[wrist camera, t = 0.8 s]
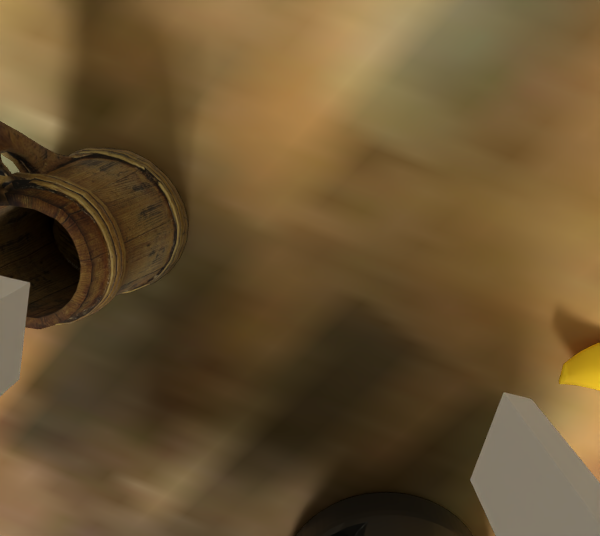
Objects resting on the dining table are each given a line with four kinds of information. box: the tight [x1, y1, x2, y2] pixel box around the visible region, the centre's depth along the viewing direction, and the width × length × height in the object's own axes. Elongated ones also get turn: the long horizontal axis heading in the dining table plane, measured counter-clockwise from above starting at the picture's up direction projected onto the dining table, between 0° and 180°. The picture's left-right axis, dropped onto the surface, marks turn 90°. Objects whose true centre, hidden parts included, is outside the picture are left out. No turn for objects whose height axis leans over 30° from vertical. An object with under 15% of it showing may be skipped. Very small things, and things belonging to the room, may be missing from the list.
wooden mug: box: [0, 121, 188, 329], centre depth 24 cm, size 9×14×18 cm, turn 20°
